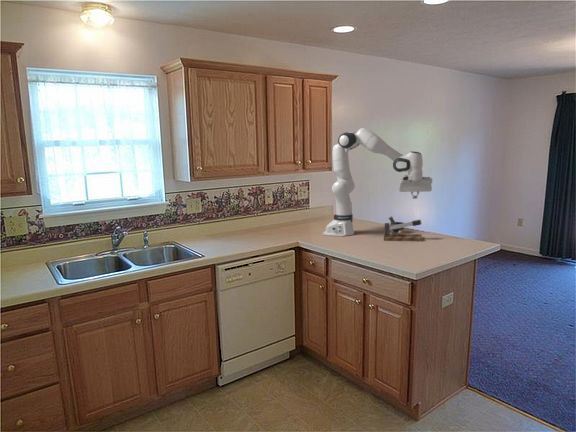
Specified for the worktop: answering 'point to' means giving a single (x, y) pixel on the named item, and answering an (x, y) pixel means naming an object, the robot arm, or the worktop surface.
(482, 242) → the worktop surface
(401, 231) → the smooth brown ball
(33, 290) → the worktop surface
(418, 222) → the lever
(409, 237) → the base
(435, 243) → the worktop surface
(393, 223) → the mortar and pestle
